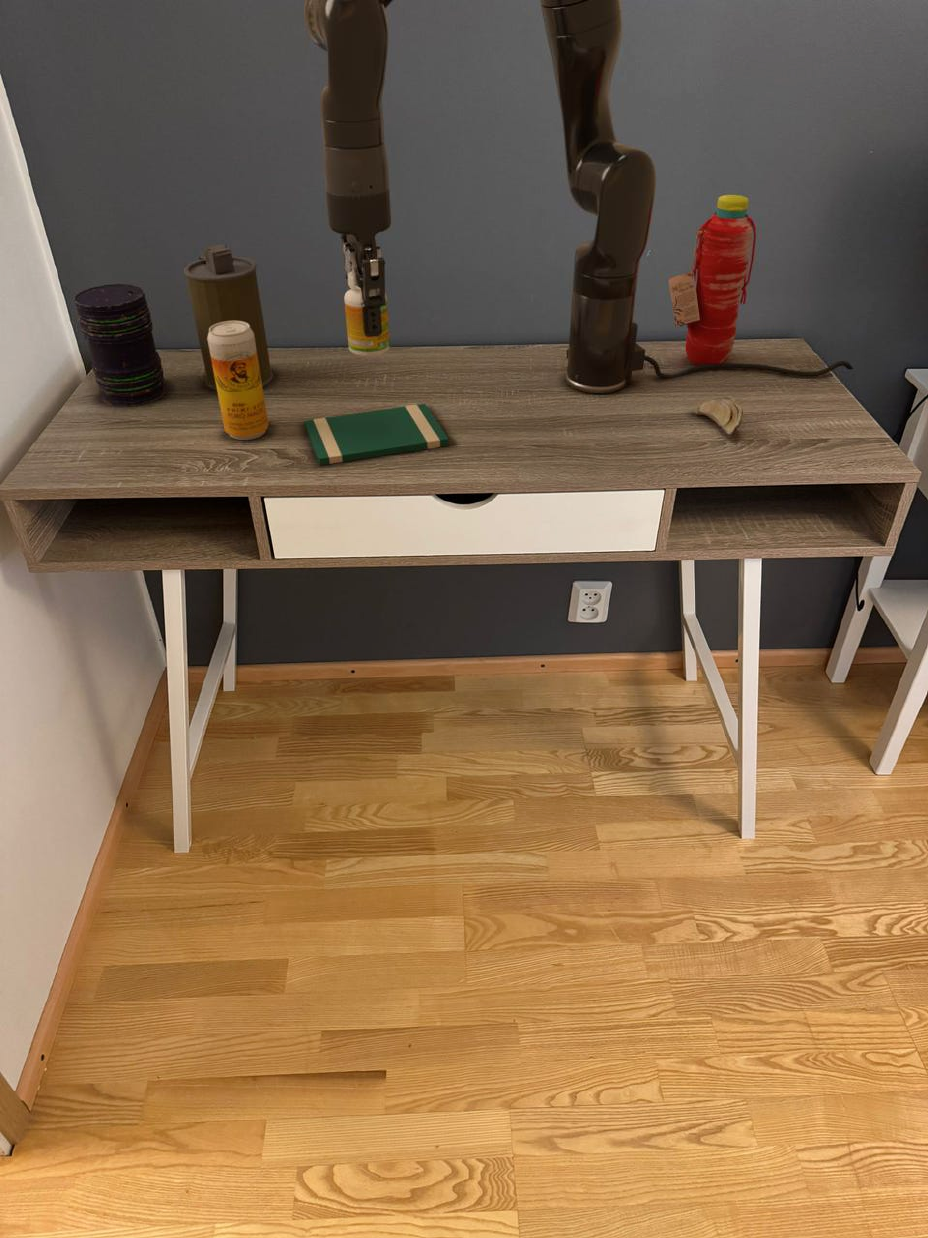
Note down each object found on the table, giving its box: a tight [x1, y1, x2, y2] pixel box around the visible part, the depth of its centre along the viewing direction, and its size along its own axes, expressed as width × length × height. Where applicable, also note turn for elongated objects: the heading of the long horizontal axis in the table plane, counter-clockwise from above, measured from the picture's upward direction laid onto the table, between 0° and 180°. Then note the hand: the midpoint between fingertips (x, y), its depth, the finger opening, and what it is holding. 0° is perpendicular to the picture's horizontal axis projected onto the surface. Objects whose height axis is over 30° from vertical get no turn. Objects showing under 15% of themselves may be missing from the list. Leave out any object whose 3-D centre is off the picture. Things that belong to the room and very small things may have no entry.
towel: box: [303, 403, 450, 466], centre depth 124 cm, size 18×12×1 cm, turn 108°
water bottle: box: [668, 194, 757, 366], centre depth 136 cm, size 12×8×25 cm, turn 91°
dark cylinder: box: [73, 283, 167, 407], centre depth 131 cm, size 10×10×15 cm
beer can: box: [207, 321, 269, 441], centre depth 121 cm, size 6×6×15 cm
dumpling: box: [694, 397, 744, 438], centre depth 125 cm, size 6×4×10 cm
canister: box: [183, 243, 274, 392], centre depth 134 cm, size 11×10×20 cm
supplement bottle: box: [344, 272, 390, 357], centre depth 113 cm, size 5×5×10 cm
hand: (367, 326), depth 115 cm, fingers closed on supplement bottle, 5 cm apart
